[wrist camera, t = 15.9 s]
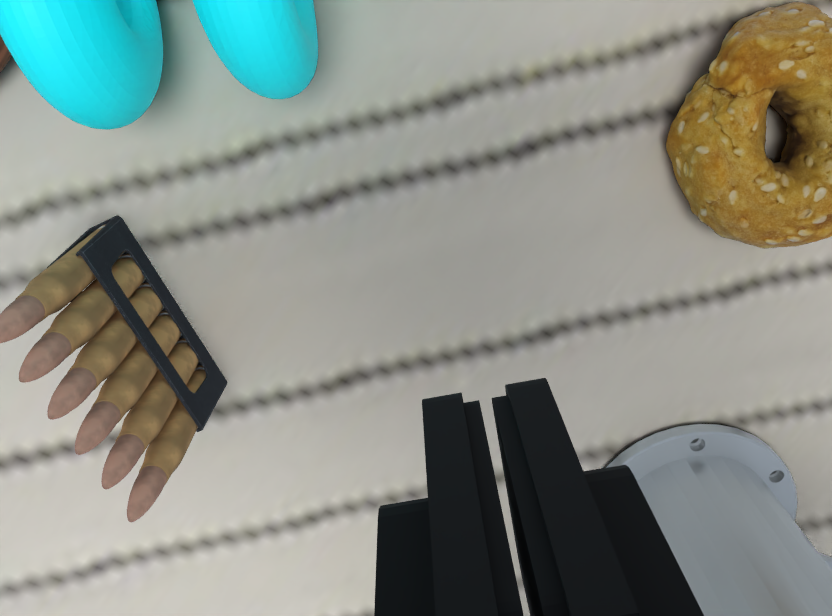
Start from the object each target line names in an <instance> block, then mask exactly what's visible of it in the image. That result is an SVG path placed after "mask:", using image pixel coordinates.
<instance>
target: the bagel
mask: <svg viewBox="0 0 832 616" xmlns="http://www.w3.org/2000/svg"><path fill="white" fill-rule="evenodd" d="M769 104H770V105H771V106H772V107H773V108H774V109H775V110H776V111H777V112H778V113H779V114H780V115H781V116H782V117H783V119H784V120H786V123H787V124H788V127H787V129H786V131H787V132H788V134H787V141H786V145H785V147H784V149H783V151H782V153H781V156H782V157H781V159H780V162H778V163H773V162H772V161H771V160H770V159H769V158H768V157H766V154H765V151H764V150H765V141H766V139H765V134H766V114H767V107H768V105H769ZM666 148H667V152H668V154H669V157H670V159H671V161H672V165H673V169H674V173H675V176H676V179H677V182H678V184H679V186H680V187H681V189H682V192H683V193H684V195H685V197H686V198H687V200H688V202H689V204H690V208H691V211H692V212H693V213H694V214H695V215H696V216H698V217H699V220H700V221H701V222H703V223H705V224H706V225H707V226H710V227H711V228H712V229H713V230H714V232H715V233H717V234H718V235H720V236H721V237H725V238H729V239H733V240H738V241H741V242H744V243H746V244H750V245H754V246H757V247H760V248H776V247H788V246H799V245H803V244H807V243H810V242H816V241H819V240H821V239H825V238H828V237H831V236H832V19H831V18H829V17H828V15H827V14H825V13H822V12H821V10H820V9H818V8H817V7H815V6H812V5H809V4H806V3H802V2H791V3H788V4H784V5H781V6H778V7H770V6H769V7H767V8H766V9H764V10H761V11H758V12H756V13H754V14H752V15H750V16H748V17H744V18H742V19H741V20H739V21H738V22H736V23H735V24H734V26H733V27H732V28H731V29H730V30H729V32H728V33H727V34H726V36H725V38H724V40H723V42H722V46H721V49H720V51H719V53H718V56H717V58H716V59H715V60H714V61H713V62H712V63H711V64H710V66H709V73H707V74H705V75H703V76H702V77H700V78H699V79H698V81H696V83H695V84H694V86H693V88H692V90H691V91H690V92H688V93H687V95H686V97H685V102H684V103H683V105H682V106H681V108H680V110H679V112H678V114H677V116H676V118H675V119H674V120H673V122H672V124H671V126H670V131H669V133H668V137H667V142H666Z"/></svg>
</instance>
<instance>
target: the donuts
mask: <svg viewBox="0 0 832 616" xmlns="http://www.w3.org/2000/svg"><path fill="white" fill-rule="evenodd" d="M193 3H194V6H195V8H196V11H197V14H198V16H199V19H200V21H201V23H202V26H203V28H204V30H205V32H206V34H207V36H208V38H209V41H210V42H211V44H212V46H213V48H214V50H215V51H216V53H217V55H218V56H219V58H220V59H221V61H222V62H223V63H224V65H225V66H226V67H227V69H228V70H229V71H230V72H231V73H232V75H233V76H234V77H235V78H236V79H237V80H238V81H239V82H240V83H242V84H243V85H244V86H245V87H247V88H248V89H249V90H251V91H253V92H255V93H257V94H259V95H261V96H264V97H267V98H271V99H285V98H290V97H293V96H295V95H297V94H299V93H300V92H301V91H303V90H304V89H305V88H306V87H307V86H308V84H309V83H310V81H311V80H312V78H313V77H314V74H315V71H316V67H317V60H318V37H317V26H316V18H315V11H314V4H313V0H193ZM0 35H1V37H2V39H3V41H4V43H5V45H6V46H7V48H8V50H9V51H10V53H11V55H12V56H13V58H14V60H15V62H16V63H17V65H18V66H19V68H20V69H21V71H22V72H23V73H24V75H25V76H26V78H27V79H28V80H29V82H30V83H31V84H32V85H33V87H34V88H35V89H36V90H37V91H38V93H39V94H40V95H41V96H42V97H43V98H44V99H45V100H46V101H47V102H48V103H49V104H51V105H52V106H53V107H54V108H55V109H57V110H58V111H59V112H61V113H62V114H63V115H65V116H66V117H68V118H70V119H71V120H73V121H75V122H77V123H79V124H82V125H85V126H88V127H91V128H96V129H115V128H121V127H123V126H126V125H128V124H131V123H132V122H134V121H135V120H137V119H138V118H139V117H140V116H142V115H143V114H144V112H145V111H146V110H147V109H148V107H149V106H150V105H151V103H152V101H153V99H154V97H155V95H156V92H157V90H158V87H159V83H160V79H161V73H162V65H163V39H162V29H161V22H160V16H159V11H158V7H157V2H156V0H0Z"/></svg>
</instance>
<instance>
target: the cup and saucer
mask: <svg viewBox="0 0 832 616" xmlns="http://www.w3.org/2000/svg"><path fill="white" fill-rule="evenodd" d="M11 56H12V55H11V53H10V51H9V50H8V48H7V46H6V45H5V43H4V41H3V39H2V37H1V35H0V72H1V71H2V70H3V69H4V67H5V66H6V64H7V63H8V61H9V60H10V58H11Z"/></svg>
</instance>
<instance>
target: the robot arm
mask: <svg viewBox="0 0 832 616" xmlns="http://www.w3.org/2000/svg"><path fill="white" fill-rule="evenodd" d="M505 388H506V396H501V397H495V398H492V404H493V410H494V416H495V422H496V428H497V434H498V440H499V446H500V452H501V458H502V464H503V470H504V476H505V482H506V488H507V494H508V500H509V506H510V512H511V518H512V524H513V530H514V535H515V541H516V547H517V553H518V559H519V564H520V569H521V574H522V579H523V584H524V588H525V593H526V597H527V602H528V607H529V611H530V616H832V557H831V556H828V555H825V554H823V553H820V552H818V551H817V550H816V549H815V547H814V546H813V545H812V543H811V542H810V541H809V540H808V538H807V537H806V536H805V534H804V533H803V532H802V530H801V529H800V528H799V527H798V525H797V524H796V523H795V517H796V510H797V493H796V486H795V483H794V481H793V478H792V475H791V473H790V471H789V470H788V468H787V467H786V465H785V464H784V462H783V461H782V460H781V458H780V457H779V456H778V455H777V454H776V453H775V452H774V451H773V450H772V449H771V447H770V446H769V445H767V444H766V443H765V442H763V441H762V440H760V439H759V438H757V437H756V436H754V435H752V434H750V433H747V432H745V431H742V430H740V429H737V428H733V427H728V426H723V425H717V424H694V425H687V426H679V427H675V428H671V429H668V430H665V431H661V432H658V433H655V434H653V435H651V436H649V437H647V438H645V439H643V440H640V441H638V442H637V443H635V444H634V445H632V446H631V447H629V448H628V449H626V450H625V451H623V452H622V453H621V454H619V455H618V456H617V457H616V458H615V459H614V460H613V461H612V462H611V463H610V464H609V465H608V466H607V467H606V468H602V469H596V470H590V471H584V472H583V470H582V467H581V465H580V462H579V460H578V457H577V455H576V452H575V450H574V447H573V445H572V442H571V440H570V437H569V435H568V432H567V430H566V427H565V425H564V422H563V419H562V417H561V414H560V412H559V409H558V407H557V404H556V402H555V399H554V397H553V394H552V392H551V389H550V387H549V384H548V382H547V380H546V378H542V379H536V380H530V381H525V382H519V383H513V384H508V385H505ZM422 409H423V425H424V441H425V456H426V472H427V488H428V498H424V499H418V500H412V501H406V502H400V503H394V504H388V505H382V506H380V508H379V513H378V533H377V561H376V588H375V616H523V611H522V606H521V601H520V596H519V591H518V586H517V582H516V577H515V572H514V567H513V562H512V557H511V553H510V548H509V543H508V538H507V533H506V528H505V524H504V519H503V514H502V509H501V504H500V499H499V494H498V490H497V485H496V480H495V475H494V470H493V465H492V461H491V456H490V451H489V446H488V441H487V436H486V432H485V427H484V422H483V417H482V412H481V407H480V403H479V400H478V401H473V402H467V403H463V398H462V393H456V394H451V395H445V396H439V397H434V398H428V399H423V400H422Z"/></svg>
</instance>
